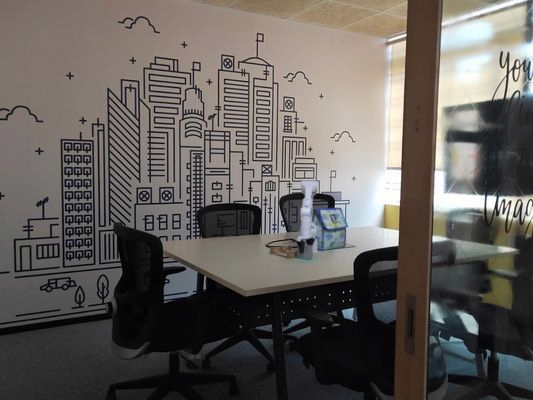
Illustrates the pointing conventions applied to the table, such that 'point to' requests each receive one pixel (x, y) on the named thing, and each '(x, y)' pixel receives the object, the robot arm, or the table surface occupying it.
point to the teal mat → (304, 260)
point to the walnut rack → (283, 250)
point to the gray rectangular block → (305, 253)
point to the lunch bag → (330, 228)
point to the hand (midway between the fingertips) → (305, 252)
